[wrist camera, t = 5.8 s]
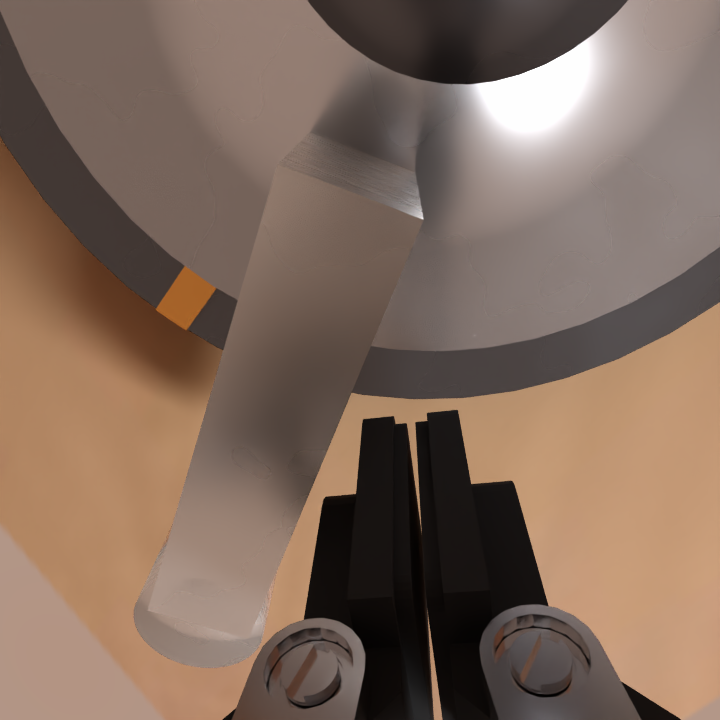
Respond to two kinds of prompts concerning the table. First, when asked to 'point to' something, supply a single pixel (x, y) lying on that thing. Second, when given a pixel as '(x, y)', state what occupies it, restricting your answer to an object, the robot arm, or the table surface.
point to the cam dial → (371, 212)
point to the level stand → (216, 309)
